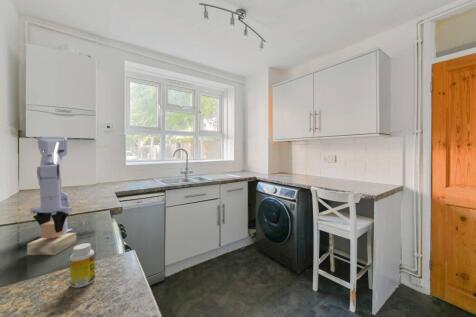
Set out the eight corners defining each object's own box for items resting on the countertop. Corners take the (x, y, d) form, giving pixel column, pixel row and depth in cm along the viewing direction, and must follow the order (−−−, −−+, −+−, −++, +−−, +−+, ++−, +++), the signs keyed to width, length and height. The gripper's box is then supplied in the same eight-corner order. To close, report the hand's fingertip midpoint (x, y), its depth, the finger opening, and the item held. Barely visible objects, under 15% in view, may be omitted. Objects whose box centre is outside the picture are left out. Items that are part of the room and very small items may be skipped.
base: (27, 254, 76) (26, 243, 76) (52, 242, 86) (52, 233, 86) (54, 254, 76) (53, 243, 76) (76, 242, 86) (76, 232, 86)
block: (41, 238, 79) (40, 224, 79) (52, 233, 84) (51, 220, 83) (53, 238, 79) (52, 224, 79) (63, 233, 83) (63, 220, 83)
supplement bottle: (93, 285, 58) (92, 248, 58) (68, 291, 56) (66, 252, 55) (97, 274, 63) (95, 240, 63) (73, 279, 61) (72, 244, 60)
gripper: (21, 198, 77) (23, 236, 77) (60, 198, 76) (62, 235, 77) (39, 194, 84) (41, 229, 84) (75, 194, 83) (77, 228, 84)
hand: (52, 231), depth 81 cm, fingers closed on block, 4 cm apart
